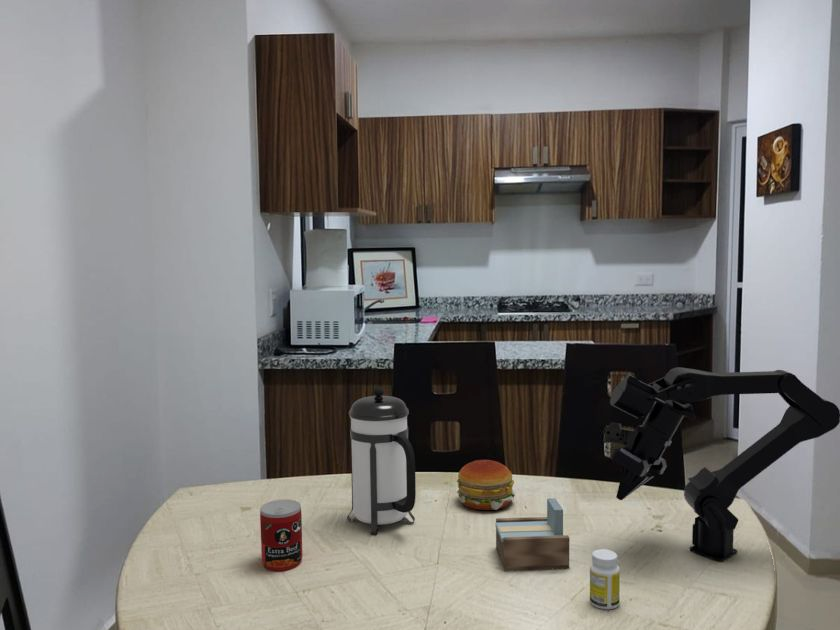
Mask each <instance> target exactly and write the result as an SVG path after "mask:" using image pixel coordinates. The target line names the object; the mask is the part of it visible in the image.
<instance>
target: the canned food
mask: <svg viewBox="0 0 840 630" xmlns="http://www.w3.org/2000/svg"><path fill="white" fill-rule="evenodd" d="M259 509H260V510H259V515H260V516H259V522H260V523H259V524H260V527H259V528H260V543H261V544H260V545H261V546H260V549H261V562H262V565H263V567H264V568H265V569H266V570H268V571H272V572H283V571H284V572H286V571H289V570H293V569H294V568H297V567H298V566H299V565H300V564H301V563H302V560H303V555H304V554H303V529H302V528H303V527H302V526H303V523H302V522H303V521H302V516H303V515H302V504H301V502H299V501H297V500H294V499H287V498H285V499H283V498H282V499H274V500H271V501H268V502H266V503H264V504H262V505H261V507H260V508H259Z"/></svg>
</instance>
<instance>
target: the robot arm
mask: <svg viewBox="0 0 840 630" xmlns="http://www.w3.org/2000/svg"><path fill="white" fill-rule="evenodd" d="M756 394H757V395H758V394H759V395H760V394H761V395H762V394H778V395H779V396H780V397H781V399H782V400H784V401H785V402H786V404H788V407H787V409H786V410H785V412H784V413H783V415H782V418H781V420H780V422H779V423H778V424H777V425H776V426H775V427H773V428H771V429H770V430H769V431H768V432H767V433H766V434H764V435H763V436H761V437H760V438H759V439H758V440H756V441H755V442H754V443H752V444H751V445H750V446H749V447H747V448H746V449H745V450H743V451H742V452H741V453H740V454H738V455H737V456H736V457H735V458H733V459H732V460H730V462H728V463H727V464H725V465H724V466H723V467H721V468H720V469H717V470H714V471H711V470H709V468H707V467H706V466H704V467H702V468H701V469H700V470H699V472H698V473H696V474H695V475H694V476H692V477H689V478H688V481H689V482H688V483H687V484H686V485H685V486H684V488H683V489H684V491H683V492H684V493H683V496H684V500H685V502H686V503H687V505H689V507H690V508H692V510H693V512H694V513H695V514H696V515H697V516H696V517H694V523H693V524H692V531H691V532H692V534H691V536H692V537H691V539H692V540H691V544H692V546H690V547H689V551H690V552H693V553H695V554H698V555H701V556H704V557H706V558H710V559H713V560H714V561H717V562H722V561H724V560H726V559H728V558H730V557H732V556H734V555H736V554H737V553H738V549H736V548H734V533H735V532H734V531H735V530H736V528H737V525H738V523H739V519H738V517H737V516H735V514H733V513H732V512H731V511H730V510H729V508H730V506H731V505H732V504H733V503H734V501H735V499H736V496H737V494H738V492H739V490H740V489H741V488H742V487H744V486H745V485H747V484H748V483H750V482H751V481H752V480H753V479H755V478H756V477H757V476H758V475H760V473H762V472H763V471H764V470H766V469H768V468H769V467H770V466H772V465H773V464H774V463H775V462H777V461H778V460H779V459H780V458H782V457H783V456H785V454H787V453H788V452H789V451H791V450H792V449H793V448H795V447H796V446H797V445H799V444H800V443H802V442H806V441H809V440H814V439H816V438H820V437H822V436H823V435H825V434H827V433H830V432H831V431H833V430H835V429H836V428H837V427H838V426H839V425H840V409H839V407H838V406H837V405H836V404H835V403H834V402H832V401H829V400H827V399H825V398H822V397H821V396H820V395H818V394H817V393H816V392H815V391H814V390H812V389H811V388H809V387H808V386H807V385H805V384H804V383H803V382H802V381H801V380H800V379H799V378H798V377H797V375H795V374H793V373H791V372H789V371H786V370H783V369H776V370H772V371H771V370H770V371H768V370H765V371H741V372H739V371H737V372H736V371H735V372H710V371H706V370H705V371H704V370H700V369H694V368H688V367H687V368H686V367H681V366H680V367H679V366H677V367H673V368H671V369H670V370H669V371H668V372H667V373H665V376H662V378H660V379H657V380H655V381H653V382H651V383H645V382H643V381H641V380H639V379H638V378H637V377H635V376H633V375H632V374H630V373H627V374H626V375H625V377H624V379H622V380H620V382H619V383H618V384H617V385H616V386H615V388H614V389H613V391H612V394H611V396H610V400H609V403H610V404H609V405H610V406H612V407H614V408H617V409H618V410H621V411H622V412H624V413H626V414H627V415H630V416H632V417H635V418H636V419H640V418H641V417H643V418H645V420H644V421H643V423H642V425H641V424H640V425H639V424H638V425H637V426H636V427H635V429H634V430H633V429H627V428H623V426H622V423H619V422H613V421H611V422H609V425H605V427H604V429H603V430H602V434H603V442H604V443H613V444H618V445H623V446H624V447H618V448H614V450H613V452H612V453H611V455H610V457H609V459H610V460H612V461H613V462H615V463H616V464H618V465H619V467H620V469H621V476H620V479H619V480H620V481H619V484H618V488H617V493H616V496H615V497H616V499H617V500H619V501H623V500H625V499H626V498H627V497H628V496H630V495H631V494H633V493H634V492H635V491H636V490H638V489H640V488H641V486H643V485H645V483H647V482H649V481H650V480H652V479H653V478H654V477H655V475H653V473H651V472H649V470H650V468H652V469H654V470H655V471H656V473H657V474H658V475H663V474H664V472H665V470H666V469H667V467H668V465H667V461H666V459H664V458H663V457H662V456H663V455H664V452H665V450H666V448H667V447H670V446H671V444H672V443H673V442H672V438H673V436H674V435H675V432H676V431H677V430H678V428H679V425H680V424H681V422H682V420H683V419H684V417H685V418H687V419H689V420H691V421H696V420H697V417H696V415H695V413H694V409H693V405H691V404H690V403H695V402H700V401H707V400H708V399H712V398H714V397H716V396H725V395H756ZM657 396H658V397H659V398H658V397H657ZM660 398H662V399H660ZM663 399H664V400H665V401H664V400H663ZM676 400H678V402H677V401H676ZM679 402H682V403H686V404H681V403H679Z"/></svg>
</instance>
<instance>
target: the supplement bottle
mask: <svg viewBox="0 0 840 630" xmlns="http://www.w3.org/2000/svg"><path fill="white" fill-rule="evenodd" d="M591 554H592V556H591V561H592V562H591V564H590V565H589V601H590V603H591V604H592V605H593V606H594V607H596V608H598V609H601V610H613V609H616V608H618V607H619V605H620V588H621V587H620V578H621V577H620V575H621V574H620V572H621V571H620V567H619V565H618V555H617V553H616V552H614V551H613V550H610V549H603V548H600V549H596V550H594V551H592V553H591Z"/></svg>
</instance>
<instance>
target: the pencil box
mask: <svg viewBox="0 0 840 630" xmlns="http://www.w3.org/2000/svg"><path fill="white" fill-rule="evenodd" d="M532 521H547V516H540V517H539V516H538V517H535V516H533V517H505V518H503V517H502V518H495V524H496V523H500V522H532ZM495 548H496V551H497V554H498V557H499V560H500V562H501V565H502V568H503V571H504V572H518V571H521V572H522V571H549V570H550V571H551V570H552V571H553V570H570V536H569V535H568V534H567V535H566V534H565V535H564V534H563V536H532V537H504V542H503V543H502V542H501V539H500V537H499V534H498V531H497V529H496V528H495Z"/></svg>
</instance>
